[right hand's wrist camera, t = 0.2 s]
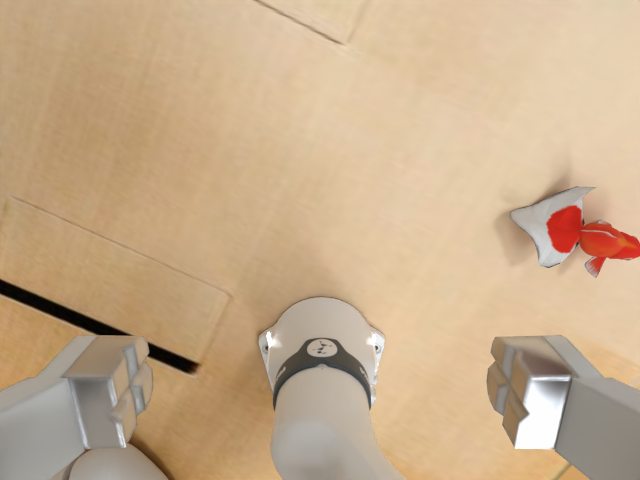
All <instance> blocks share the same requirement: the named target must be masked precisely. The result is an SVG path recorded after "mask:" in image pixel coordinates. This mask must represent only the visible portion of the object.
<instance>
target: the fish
mask: <svg viewBox="0 0 640 480" xmlns="http://www.w3.org/2000/svg"><path fill="white" fill-rule="evenodd" d="M594 188H596V187H574V188H571V189H568V190H565V191H562V192H559V193H556V194H554V195H552V196H550V197H548V198H546V199H544V200H542V201H540V202H538V203H536V204H534V205H532V206H528V207H523V208H520V209H517V210H514V211H512V212H510V218H511V219H512V220H513V221H514V222H515V223H516V224H517V225H518V226H520V227H521V228H522V229H523V230H524V231H525V232H527V233H528V234H529V235H530V236H531V238H532V239H533V241H534V243H535V246H536V249H537V252H538V260H539V265H540V266H544V267H548V268H550V267H552V266H555V265H557V264H559V263H561V262H562V261H563V260H565V259H566V258H567V257H568V256H569V254H570V253H571V252H572V251H573V250H574V249H575V247H576V246H577V245H578V244H579V243H580V246H581V248H582V249H583V251H584V252H585V253H587V254H588V255H591V256H594V257H592V258H591V259H590V260H589V261H587V262H586V263H585V267H586V269H587V271H588V272H589V273H590V274H591V275H593V276H594V277H597V275H598V274H599V272H600V269H601V267H602V265H603V263H604V261H605V259H606V258H607V257H608V258H610V259H624V260H631V259H634V258H636V257H639V256H640V243H639V241H638V239H637V238H636V237H634V236H630V235H628V234H626V233H623V232H619V231H618V230H616V229H614V228H612V226H611V224H609V223H607V222H606V221H603V220H600V221H598V222H597V223H590V224H587V225H585V226H584V227H583V225H584V217H583V211H582V209H583V197H584V196H585V195H586V194H587V193H588V192H589V191H590V190H592V189H594Z"/></svg>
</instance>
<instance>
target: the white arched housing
mask: <svg viewBox="0 0 640 480" xmlns="http://www.w3.org/2000/svg"><path fill="white" fill-rule="evenodd" d="M51 480H169V479H168V478H167V477H166V476H165V475H164V474H163V473H162V471H161V470H160V469H159V468H158V467H157V466H156V465H155V464H154V463H153V462H152V461H151V460H150V459H149V458H148V457H146V456H145V455H144V454H143V453H142V452H141V451H139V450H138V449H137V448H136V447H134V446H133V445H131V444H129V443H128V444H127V445H126V447H125V448H109V449H91V450H90V451H88V452H86V453H85V454H83V455H82V456H80V457H79V458H78V459H76V460H74V461H72V462H71V463H70V464H68V465H67V466H66V467H65V468H63V469H62V470H61V471H60V472H59V473H57V474H56V475H55V476H54V477H53V478H52V479H51Z"/></svg>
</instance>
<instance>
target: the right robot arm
mask: <svg viewBox="0 0 640 480" xmlns="http://www.w3.org/2000/svg"><path fill="white" fill-rule="evenodd" d="M258 343H259V347H260V351H261V354H262V357H263V361H264V364H265V368H266V371H267V375H268V378H269V382H270V385H271V389H272V392H273V406H274V411H275V415H274V422H273V430H272V438H271V456H272V460H273V463H274V466H275V468H276V470H277V471H278V473H279V475H280V476H281V478H282V479H283V480H407V479H406V478H405V477H404V476H403V475H402V474H401V473H400V472H399V471H398V470H397V469H396V468H395V467H394V466H393V465H392V464H391V462H390V461H389V460H388V459H387V458H386V456H385V455H384V453H383V452H382V450H381V448H380V447H379V445H378V442H377V439H376V436H375V432H374V429H373V425H372V420H371V415H370V408H371V405H374V403H375V398H376V392H375V389H372V386H373V385H375V386H376V385H377V381H378V377H377V375H376V372H377V370H378V365H379V362H380V359H381V355H382V352H383V348H384V345H385V337H384V335H383V334H382V333H381V332H380V331H378V330H377V329H375V328H373V327H371V326H370V325H369V324H368V323H367V322H366V320H365V319H364V318H363V316H362V315H361V314H360V313H359V312H358V311H357V310H356V309H355V308H354V307H352V306H351V305H349V304H348V303H346V302H343V301H341V300H338V299H334V298H329V297H315V298H309V299H306V300H303V301H300V302H298V303H296V304H294V305H293V306H291V307H290V308H288V309H287V310H286V311H285V312H284V313H283V314H282V315H281V317H280V318H279V320H278V321H277V322H276V324H275V325H274V326H272V327H270V328H269V329H267V330H265V331H264V332H262V333H261V334H260V336H259V341H258ZM266 346H269V347H268V348H267V347H266ZM375 346H377V347H376V348H375ZM148 354H149V348H148V343H147V340H146V339H145V338H144V337H143V336H104V335H102V336H99V335H80V336H76V337H74V338H73V339H72V340H71V341H70V342H69V343H68V344H67V345H66V346H65V347H64V349H63V350H62V351H61V352H60V353H59V354H58V355H57V356H56V357H55V358H54V359H53V360H52V361H51V362H50V363H49V364H48V365H47V366H46V367H45V368H44V369H43V370H42V371H41V372H40V373H39V374H38V376H37V377H36V378H27V379H25V380H22V381H20V382H18V383H16V384H14V385H12V386H9V387H7V388H5V389H3V390H1V391H0V480H50V479H51V478H52V477H54V476H55V475H56V474H57V473H59V472H60V471H61V470H62V469H63V468H65V467H66V466H67V465H68V464H70V463H71V462H72V461H73V460H75V459H76V458H77V457H78V456H80V455H81V454H82V453H83V452H85V449H109V448H125V447H126V445H127V444H128V442H129V440H130V438H131V436H132V434H133V432H134V431H135V429H136V427H137V425H138V424H137V418H136V416H137V415H139V414H140V413H142V412H143V411H145V410H146V408H147V406H148V404H149V402H150V399H151V394H152V390H153V373H152V368H151V367H150V366H149V365H148V364H147V363H146V362H145V361H144V360H145V359H146V357H147V355H148ZM491 354H492V355H493V357H494V359H495V360H496V361H495V362H494V363H493V364H492V365H491V366H490V367H489V368H488V374H487V390H488V395H489V399H490V402H491V404H492V406H493V408H494V410H495V411H497V412H498V413H500V414H501V415H503V416H504V418H503V424H502V425H503V427H504V429H505V431H506V432H507V434H508V436H509V438H510V440H511V442H512V444H513V445H514V447H515V448H530V449H555V451H556V452H557V453H558V454H559V455H561V456H562V457H563V458H564V459H566V460H567V461H568V462H569V463H571V464H572V465H573V466H574V467H575V468H577V469H578V470H579V471H580V472H582V473H583V474H584V475H585V476H587V477H588V478H589V479H590V480H640V391H639V390H637V389H635V388H633V387H630V386H628V385H626V384H624V383H622V382H620V381H618V380H615V379H613V378H604V377H603V375H602V374H601V373H600V372H599V371H598V370H597V369H596V368H595V367H594V366H593V365H592V364H591V363H590V362H589V361H588V360H587V359H586V358H585V357H584V356H583V355H582V354H581V353H580V352H579V351H578V349H577V348H576V347H575V346H574V345H573V344H572V343H571V342H570V341H569V340H568V339H567V338H566V337H564V336H561V335H547V336H517V337H495V339H494V341H493V343H492V348H491Z"/></svg>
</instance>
